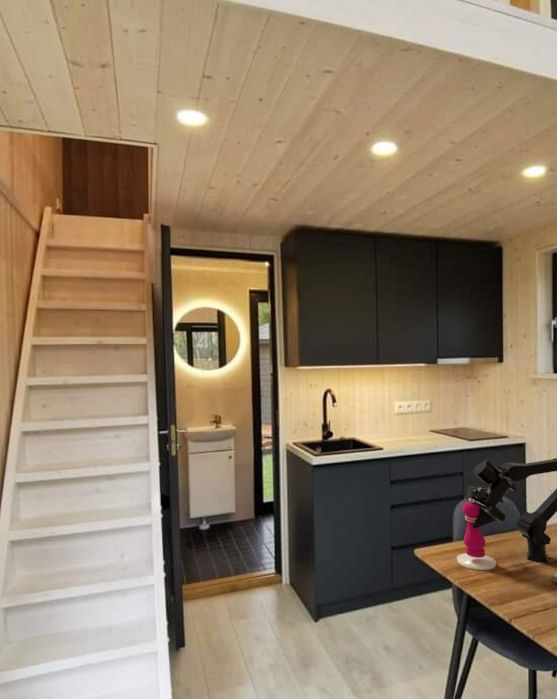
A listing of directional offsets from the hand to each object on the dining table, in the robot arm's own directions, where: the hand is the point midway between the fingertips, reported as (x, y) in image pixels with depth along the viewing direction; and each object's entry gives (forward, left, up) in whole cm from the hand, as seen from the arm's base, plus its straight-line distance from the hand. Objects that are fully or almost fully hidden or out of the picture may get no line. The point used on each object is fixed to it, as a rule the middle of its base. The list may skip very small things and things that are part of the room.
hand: (469, 525), depth 156 cm
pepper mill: (-1, +1, -10) cm, 11 cm away
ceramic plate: (-1, +1, -13) cm, 13 cm away
